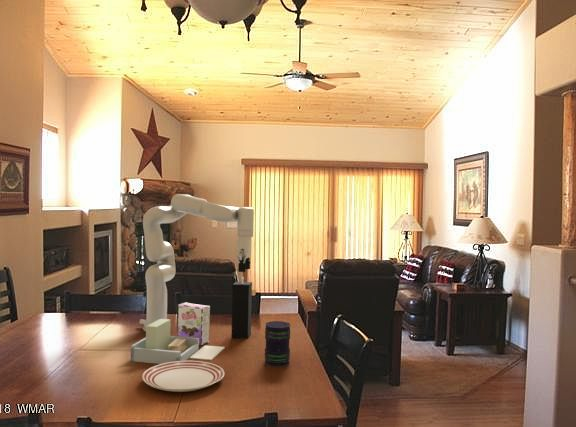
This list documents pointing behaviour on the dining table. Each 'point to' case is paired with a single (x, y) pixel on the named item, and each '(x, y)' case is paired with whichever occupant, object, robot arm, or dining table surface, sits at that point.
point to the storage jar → (277, 344)
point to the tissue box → (241, 309)
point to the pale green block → (158, 334)
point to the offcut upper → (177, 345)
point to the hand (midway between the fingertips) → (244, 270)
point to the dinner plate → (183, 375)
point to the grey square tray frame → (163, 352)
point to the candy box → (194, 321)
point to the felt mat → (207, 352)
